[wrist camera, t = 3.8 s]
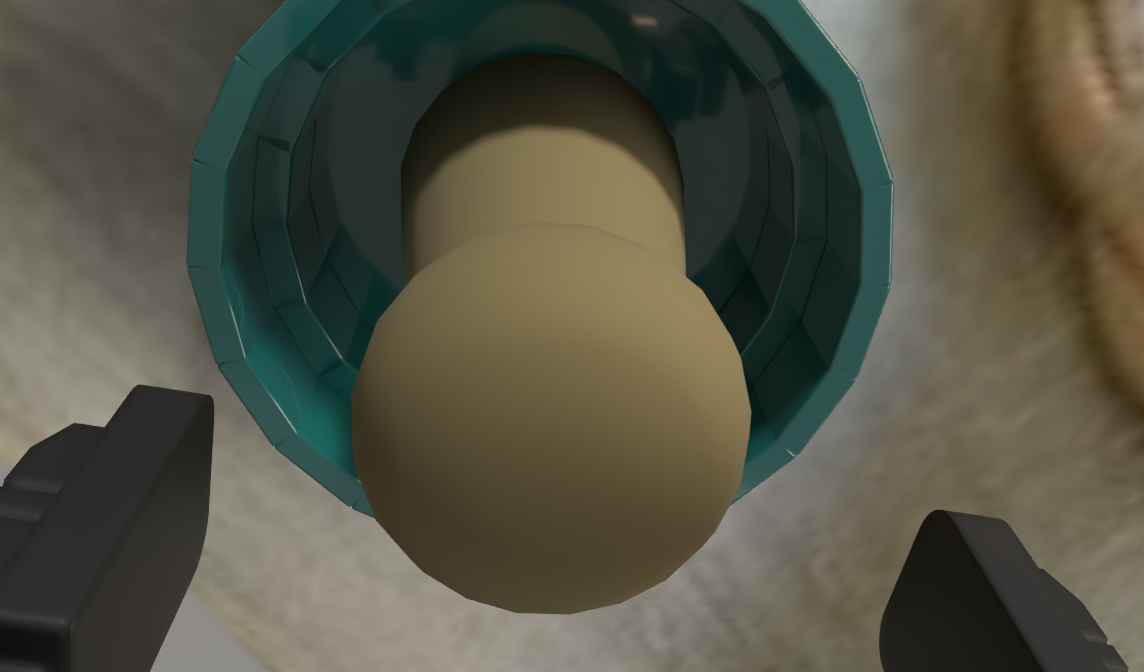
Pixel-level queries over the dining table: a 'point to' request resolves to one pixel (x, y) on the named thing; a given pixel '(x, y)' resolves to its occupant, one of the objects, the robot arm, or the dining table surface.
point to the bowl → (373, 195)
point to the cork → (547, 349)
